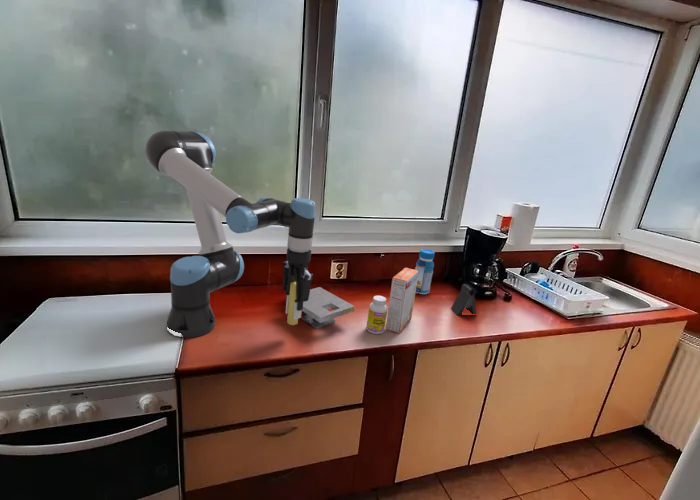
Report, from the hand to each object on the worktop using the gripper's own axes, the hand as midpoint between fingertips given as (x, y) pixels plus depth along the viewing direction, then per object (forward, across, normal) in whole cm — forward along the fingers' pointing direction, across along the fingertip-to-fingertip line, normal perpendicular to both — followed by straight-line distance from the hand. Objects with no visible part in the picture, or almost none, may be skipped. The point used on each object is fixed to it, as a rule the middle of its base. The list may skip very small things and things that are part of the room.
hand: (293, 315), depth 125 cm
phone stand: (+7, -24, -72) cm, 76 cm away
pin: (+3, 0, 0) cm, 3 cm away
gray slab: (+8, +4, -15) cm, 18 cm away
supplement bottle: (+8, -13, -28) cm, 32 cm away
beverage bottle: (+8, 0, -74) cm, 75 cm away
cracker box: (+8, -15, -39) cm, 43 cm away
